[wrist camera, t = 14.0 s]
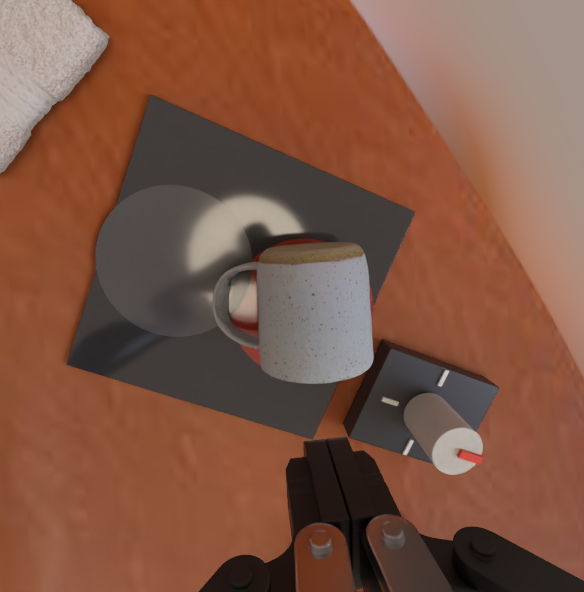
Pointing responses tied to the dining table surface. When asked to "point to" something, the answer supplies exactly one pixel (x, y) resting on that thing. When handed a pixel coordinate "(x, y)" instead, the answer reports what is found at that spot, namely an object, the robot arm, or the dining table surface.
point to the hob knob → (443, 434)
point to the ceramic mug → (307, 312)
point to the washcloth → (40, 63)
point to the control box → (402, 388)
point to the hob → (215, 264)
